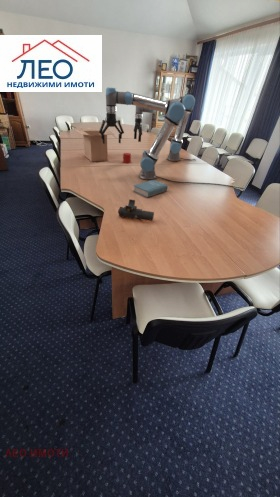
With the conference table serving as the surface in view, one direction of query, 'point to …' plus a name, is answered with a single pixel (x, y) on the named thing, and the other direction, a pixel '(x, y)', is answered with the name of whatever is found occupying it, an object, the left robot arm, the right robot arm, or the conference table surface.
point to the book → (150, 188)
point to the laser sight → (135, 212)
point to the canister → (126, 157)
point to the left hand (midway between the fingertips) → (111, 143)
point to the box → (94, 144)
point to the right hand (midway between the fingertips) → (137, 140)
